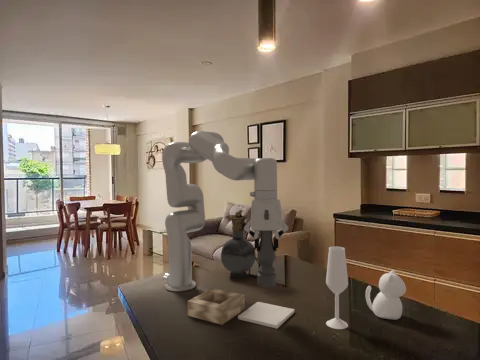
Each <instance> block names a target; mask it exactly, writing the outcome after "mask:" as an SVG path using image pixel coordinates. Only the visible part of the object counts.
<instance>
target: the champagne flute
mask: <svg viewBox="0 0 480 360" xmlns="http://www.w3.org/2000/svg"><path fill="white" fill-rule="evenodd" d="M327 254H328V255H327V256H328V257H327V268H326V277H325V284H326V286H327V287H328V289H329V290H330V291H331V292H332V293H333V294H334V318H331V319H329V320H327V321H326V322H325V325H326V326H327V327H329V328H331V329H335V330H343V329H347V328H348V327H349V325H348V323H347V322H346V321H345V320H343V319H341V318H340V294H342V293H343V292H344V291H345V290H346V289H348V286H349V278H348V269H347V268H348V267H347V257H346V248H345V247H344V246H343V247H342V246H337V245H335V246H329V247H328V253H327Z"/></svg>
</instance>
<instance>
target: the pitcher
mask: <svg viewBox="0 0 480 360" xmlns="http://www.w3.org/2000/svg"><path fill="white" fill-rule="evenodd" d="M243 212H244V210H243V209H240V210H239V211H235V213H234V214H230V215H226V216H225V218H229V219H230V220H231V224H232V227H231V230H232V238H231V239H229V240H228V241H226V242H225V243H224V245H223V246H222V249H221V252H220V260H221V263H222V265H223V267H224V268H225V269H226V271H229V272H230V273H229V276H230V277H232V278H238V279H239V278H241V279H242V278H245V277H247V275H248V273H247V272H248V271H249V270H251V268H252V267H253V266H254V263H255V262H256V263H257V264H259V265H260V262H259V260H258V257H257V256H256V255H257V253H256V251H257V248H255V246H254V245H253V243H252V242H250V241H249V240H247V239H246V238H245V237H244V231H245V230H244V227H245V226H246V224H247V223H248V222H246V221H245V220H246V219H247V218H248V216H249V214H244V215H242V213H243ZM258 238H259V241H260V240H261V235H260V231H259V234H258Z"/></svg>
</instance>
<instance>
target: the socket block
mask: <svg viewBox="0 0 480 360" xmlns="http://www.w3.org/2000/svg"><path fill="white" fill-rule="evenodd" d="M245 301H246V295H245V294H241V293H237V292H231V291H227V290H221V289H218V288H210V289H208V290H206V291H203V292H202V293H200V294H197V296H194V297H192V298H191V299H188V300H187V316H189V317H191V318H194V319H195V318H196V319H199V320H203V321H206V322H211V323H214V324H219V325H222V326H223V325H225V324H226V323H228V322H229V321H231V320H232V319H233V318H235V317H236V316H238V315H240V314H241V313H243V312H244V311H245V310H246V304H245V303H246V302H245Z"/></svg>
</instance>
